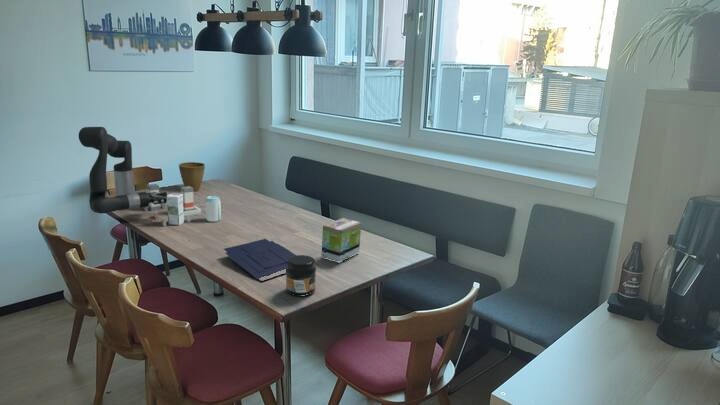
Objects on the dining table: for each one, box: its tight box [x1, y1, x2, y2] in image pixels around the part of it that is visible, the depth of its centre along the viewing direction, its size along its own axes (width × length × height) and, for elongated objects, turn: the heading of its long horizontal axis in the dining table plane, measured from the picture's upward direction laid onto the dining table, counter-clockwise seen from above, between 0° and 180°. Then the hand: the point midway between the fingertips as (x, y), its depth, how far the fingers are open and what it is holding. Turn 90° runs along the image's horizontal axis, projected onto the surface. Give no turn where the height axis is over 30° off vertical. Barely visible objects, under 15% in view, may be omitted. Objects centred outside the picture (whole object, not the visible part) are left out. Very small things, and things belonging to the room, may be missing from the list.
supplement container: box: [285, 254, 317, 296], centre depth 181 cm, size 10×10×12 cm
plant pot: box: [178, 161, 206, 193], centre depth 308 cm, size 15×15×16 cm
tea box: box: [320, 217, 362, 261], centre depth 215 cm, size 15×10×15 cm, turn 148°
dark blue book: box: [223, 238, 296, 280], centre depth 206 cm, size 24×30×4 cm
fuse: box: [146, 183, 161, 212], centre depth 268 cm, size 5×5×13 cm
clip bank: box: [142, 203, 191, 227], centre depth 258 cm, size 32×15×2 cm, turn 41°
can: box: [205, 195, 222, 223], centre depth 255 cm, size 7×7×12 cm
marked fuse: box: [180, 186, 195, 212], centre depth 264 cm, size 5×5×13 cm
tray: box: [183, 205, 202, 218], centre depth 265 cm, size 10×10×2 cm
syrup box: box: [166, 193, 185, 226], centre depth 247 cm, size 6×6×14 cm
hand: (169, 196), depth 257 cm, fingers open, 8 cm apart
